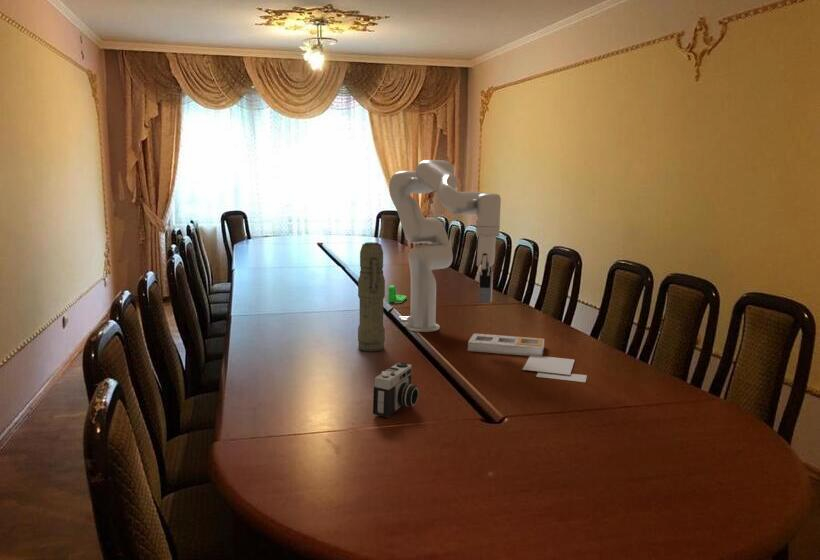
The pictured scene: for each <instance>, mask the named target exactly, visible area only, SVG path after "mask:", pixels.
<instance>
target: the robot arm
mask: <svg viewBox="0 0 820 560" xmlns="http://www.w3.org/2000/svg"><path fill="white" fill-rule="evenodd" d="M457 185H458V180H457V177H456V175H455V169H454V167H453V165H452V163H451V162H449V161H447V160H444V159H441V160H440V159H424V160H422V161H420V162H419V163H418V164H416V167H415V170H401V171H397V172H395V173H394V174H392V176H391V178H390V180H389V186H388V188H389V189H388V191H389V195H390V200H391V201H392V204H393V205H394V207H395V210H396V211H397V214H398V217H399V220H400V221H399V222H400V223H401V224H400V225H401V227H402V230H403V234H404V237H405V239H406V240H407V242H408V243H410V244H419V245H416V246H414V247H412V248H411V249H410V251H409V252H408V255H407V256H408V257H407V258H408V264H409V265H408V266H409V271H410V272H409V273H410V305H409V306H410V307H409V308H410V309H409V310H410V311H409V313H410V315H408V316H405V315H403V316H402V315H399V322H401V323H406V325H405V328H406V329H407V330H409V331H411V332H417V333H430V332H437V331H438V330H440V325H439V323H436V320H437V319H436V317H437V315H436V314H437V310H436V309H437V279H436V278H435V274H434V273H433V271H434V270H441V269H447V268H448V267H451V265H452V263H453V260H454V254H453V250H452V245H451V243H450V240H449V237H448V234H447V231H446V228H445V226H444V224H443V223H442V221H441V220H440V219H439V218H436V217H424V215H423V213H422V210H421V208H420V205H419V203H418V202H417V201H416V199H414V197H412V196H411V194H414V195H415V194H430V193H432V192H435V193H437V198H438V201H439V204H440V205H441V206H442V207H443V208H445V209H446V210H447V211H449V212H450V213H452V214H455V215H457V216H462V215H463V216H466V215H467V216H469V215H476V229H475V230H476V233H475V236H476V237H478V239H477V240H478V241H477V251H476V253H477V254H476V266H477V267H480V272H481V275H480V288H489V287H490V276H489V272H490V271H493V265H494V264H495V259H496V258H495V257H496V243H497V239H496V238H497V237H500V227H501V224H500V223H501V203H502V201H501V200H502V199H501V196H500V194H498V193H488V192H483V191H458V190H456V189H457Z"/></svg>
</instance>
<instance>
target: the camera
mask: <svg viewBox="0 0 820 560" xmlns="http://www.w3.org/2000/svg"><path fill="white" fill-rule="evenodd" d="M419 392H420V391H419V388H418V387H417V386H416V385H414V384H412V364H408V363H404V362H397V363H396V364H394V365H392V366H390V367H389V368H387V369H386V370H382V371H381V373H380V374H379V375H376V376H375V377H374V386H373V397H372V399H373V401H372V403H373V405H372V413H373V415H375V416H381V417H385V418H389V417H390V416H391V415H393V414H394V413H395V412H396V411H398V410H399V409H401V407H404V408H405V409H406V408H408V407H414V406H415V405H416V404H417V403H418V399H419Z"/></svg>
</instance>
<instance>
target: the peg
mask: <svg viewBox="0 0 820 560" xmlns="http://www.w3.org/2000/svg"><path fill="white" fill-rule="evenodd" d="M478 274H479V275H478V277H479V278H478V298H477V299H478V301H477V302H478V303H482V304H491V303H492V302H493V286H494V285H493V283H494V282H493V281H494V271H493V270H492V271H490V272H489V276H490V287H489V288H480V275H481V271H479V273H478Z"/></svg>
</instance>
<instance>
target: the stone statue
mask: <svg viewBox="0 0 820 560" xmlns="http://www.w3.org/2000/svg"><path fill="white" fill-rule="evenodd" d="M359 268H360V271H359V277H358V280H357V296H358V299H359V325H358V327H357V341H358V345H357V347H358V350H360V351H363V352H379V351H382V350H384V349H385V341H386V339H385V337H386V336H385V335H386V334H385V333H386V329H385V325H384V298H385V297H386V291H385V290H386V286H385V285H386V279H385V277H384V269H383V268H384V251H383V246H382V244H380V243H379V242H364V243H362V245H361V248H360V251H359Z"/></svg>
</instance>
